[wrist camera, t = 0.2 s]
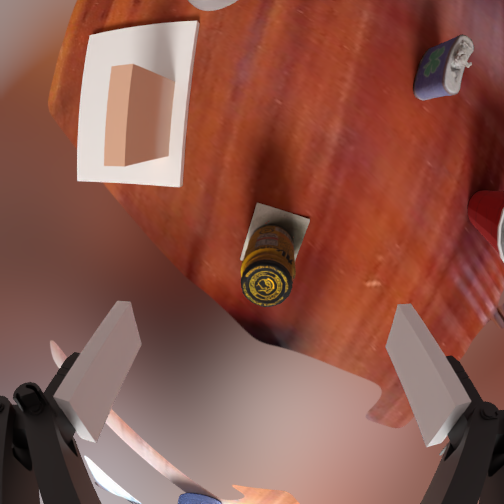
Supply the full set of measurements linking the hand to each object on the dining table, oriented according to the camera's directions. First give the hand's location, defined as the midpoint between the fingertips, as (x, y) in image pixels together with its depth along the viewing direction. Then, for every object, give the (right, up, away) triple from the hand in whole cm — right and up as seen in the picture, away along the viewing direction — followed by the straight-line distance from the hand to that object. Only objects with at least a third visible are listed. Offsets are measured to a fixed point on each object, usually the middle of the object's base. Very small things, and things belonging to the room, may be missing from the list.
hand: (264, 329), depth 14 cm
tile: (-12, +21, +21) cm, 32 cm away
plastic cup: (+34, +11, +22) cm, 42 cm away
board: (-17, +24, +22) cm, 37 cm away
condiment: (+2, +5, +27) cm, 28 cm away
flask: (+23, +28, +16) cm, 40 cm away
